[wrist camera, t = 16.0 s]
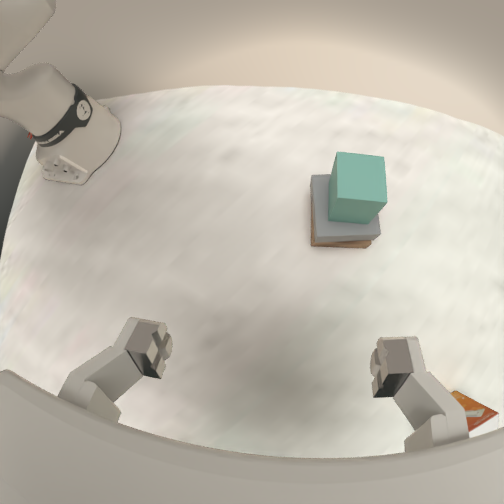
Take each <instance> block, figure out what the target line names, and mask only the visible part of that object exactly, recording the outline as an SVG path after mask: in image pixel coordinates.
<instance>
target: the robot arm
mask: <svg viewBox="0 0 504 504" xmlns="http://www.w3.org/2000/svg"><path fill="white" fill-rule="evenodd" d="M55 9H56V0H0V117H2V118H6V119H8V120H10V121H12V122H14V123H16V124H18V125H19V126H21V127H23V128H24V129H26V130H28V131H29V134H28V137H29V135H30V133H31V136H30V139H31V138H32V136H33V138H34V139H35V140H36V142H37V143H38V144H37V151H36V159H37V161H38V162H39V163H40V164H42V165H43V178H45V179H46V180H52V181H59V182H65V183H72V184H78V185H82V184H84V183H85V182H86V181H87V179H88V178H89V177H90V175H91V174H92V173H93V172H94V171H95V170H96V169H97V168H98V167H100V166H101V165H102V164H103V163H104V162H105V161H106V160H107V159H108V157H109V156H110V155H111V153H112V152H113V150H114V149H115V147H116V145H117V143H118V140H119V137H120V132H121V125H120V122H119V120H118V118H117V117H115V116H114V115H112V114H111V113H110V110H109V108H108V107H107V106H105V105H104V106H101V105H100V104H99V103H98V102H96V101H95V100H94V99H93V98H91V97H90V96H89V95H87V94H85V93H84V92H83V91H82V89H80V88H79V87H78V86H76V85H75V84H72V83H70V82H69V81H68V80H67V79H66V78H65V77H64V76H63V75H62V74H61V73H60V72H59V71H58V70H57V69H56V68H55V67H54V66H53V65H52V64H49V63H38V64H34V65H32V66H29V67H27V68H26V69H24V70H22V71H20V72H17V73H14V74H5V73H4V71H5V69H6V68H7V67H8V65H9V64H10V63H11V62H12V61H13V60H14V59H15V58H16V57H17V56H18V54H19V53H20V52H21V51H22V50H23V49H24V48H25V47H26V46H27V45H28V44H29V43H30V42H31V41H32V40H33V39H34V38H35V36H36V35H37V34H38V33H39V32H40V30H41V29H42V28H43V27H44V26H45V24H46V23H47V22H48V21H49V20H50V18H51V17H52V16H53V14H54V13H55ZM167 329H168V328H167V326H166V324H165V323H162V322H156V321H151V320H145V319H140V318H135V317H131V318H129V319H128V320H127V322H126V324H125V326H124V328H123V329H122V331H121V333H120V335H119V337H118V338H117V340H116V342H115V344H114V346H113V347H112V346H110V347H108V348H107V349H105V350H104V351H102V352H101V353H99V354H98V355H96V356H95V357H93V358H91V359H90V360H88V361H87V362H85V363H84V364H82V365H81V366H79V367H78V368H76V369H75V370H73V371H72V372H70V374H69V376H68V377H67V379H66V381H65V383H64V385H63V387H62V389H61V391H60V392H59V394H58V396H55V395H53V394H51V393H49V392H47V391H46V390H44V389H42V388H40V387H38V386H36V385H35V384H33V383H31V382H29V381H28V380H26V379H24V378H23V377H21V376H19V375H18V374H16V373H14V372H13V371H11V370H7V369H6V370H3V371H1V372H0V504H504V427H502V428H499V429H496V430H493V431H491V432H488V433H485V434H481V435H478V436H475V437H472V438H470V437H469V431H468V425H467V420H466V415H465V410H464V408H463V407H462V406H461V405H460V403H459V402H458V401H457V400H456V399H455V398H454V397H453V396H452V395H451V394H450V393H449V392H448V390H447V389H446V388H445V387H444V386H443V385H442V384H441V383H440V382H439V381H438V380H437V379H436V378H435V377H434V376H433V375H432V374H431V372H426V368H425V364H424V360H423V356H422V352H421V348H420V344H419V341H418V338H417V337H415V336H414V337H380V338H379V339H378V341H377V348H376V349H375V350H373V353H372V355H371V361H370V370H371V374H372V375H373V376H374V377H375V378H374V380H373V382H372V390H373V398H379V397H393V399H394V400H395V402H396V403H397V405H398V406H399V408H400V409H401V410H402V412H403V413H404V415H405V416H406V418H407V419H408V421H409V422H410V424H411V425H412V427H413V428H414V430H415V432H413V433H412V434H411V435H410V436H409V437H407V438H406V440H405V441H404V444H405V452H403V453H396V454H388V455H379V456H368V457H353V458H291V457H275V456H264V455H255V454H246V453H239V452H232V451H226V450H220V449H214V448H209V447H204V446H199V445H194V444H190V443H185V442H181V441H177V440H173V439H169V438H165V437H162V436H158V435H155V434H151V433H148V432H145V431H141V430H138V429H135V428H132V427H129V426H126V425H123V424H121V423H118V420H119V417H120V414H121V411H120V409H119V408H118V407H117V406H116V405H115V404H114V403H113V402H115V401H116V400H117V399H118V398H119V397H120V396H121V395H123V394H124V393H125V392H126V391H127V390H128V389H129V388H130V387H132V386H133V385H134V384H135V383H136V382H137V381H138V380H140V379H141V378H142V377H143V376H142V375H144V376H148V377H153V378H158V379H161V378H162V375H163V372H164V370H165V367H166V364H165V360H166V359H168V358H169V357H170V355H171V352H172V345H173V344H172V338H171V336H170V335H169V334H168V333H167V332H166V331H167Z"/></svg>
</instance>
